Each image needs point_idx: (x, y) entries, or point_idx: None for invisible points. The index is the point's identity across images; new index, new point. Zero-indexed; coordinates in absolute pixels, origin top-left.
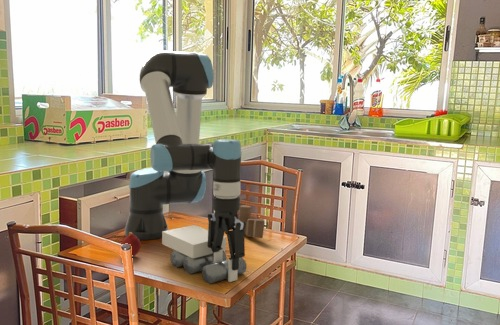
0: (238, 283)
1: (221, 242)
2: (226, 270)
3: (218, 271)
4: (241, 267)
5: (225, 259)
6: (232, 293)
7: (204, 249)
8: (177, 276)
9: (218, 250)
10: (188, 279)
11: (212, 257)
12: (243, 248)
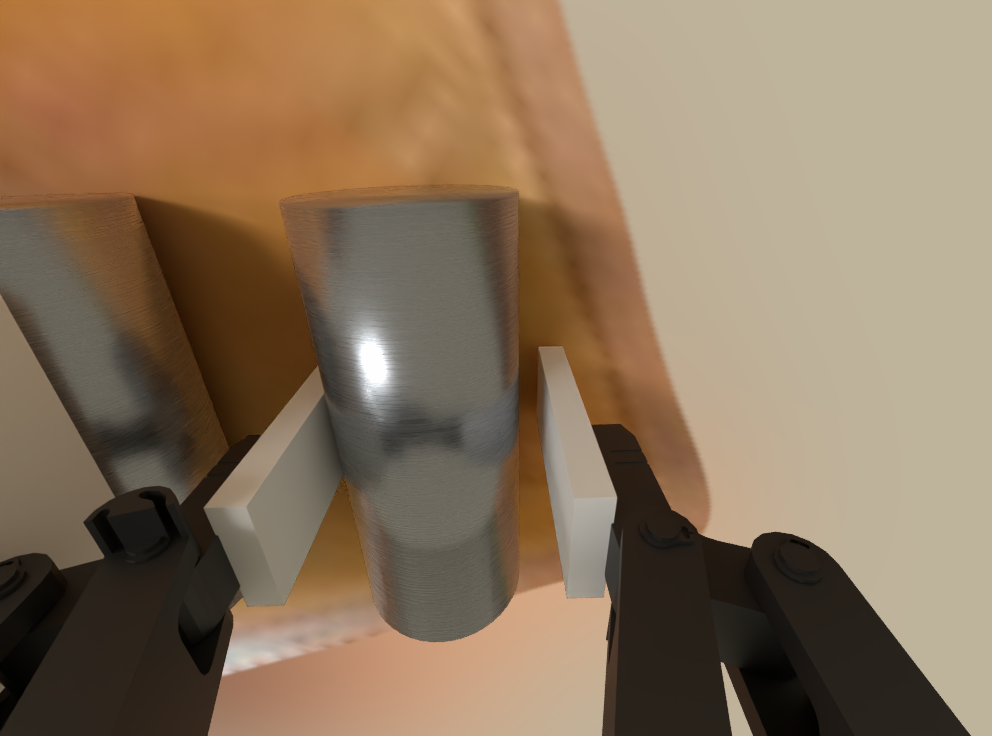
0: (605, 365)
1: (144, 687)
2: (516, 476)
3: (511, 551)
4: (517, 279)
5: (117, 218)
6: (694, 490)
7: None
8: None
9: (216, 557)
10: (331, 565)
11: (132, 429)
12: (937, 733)
